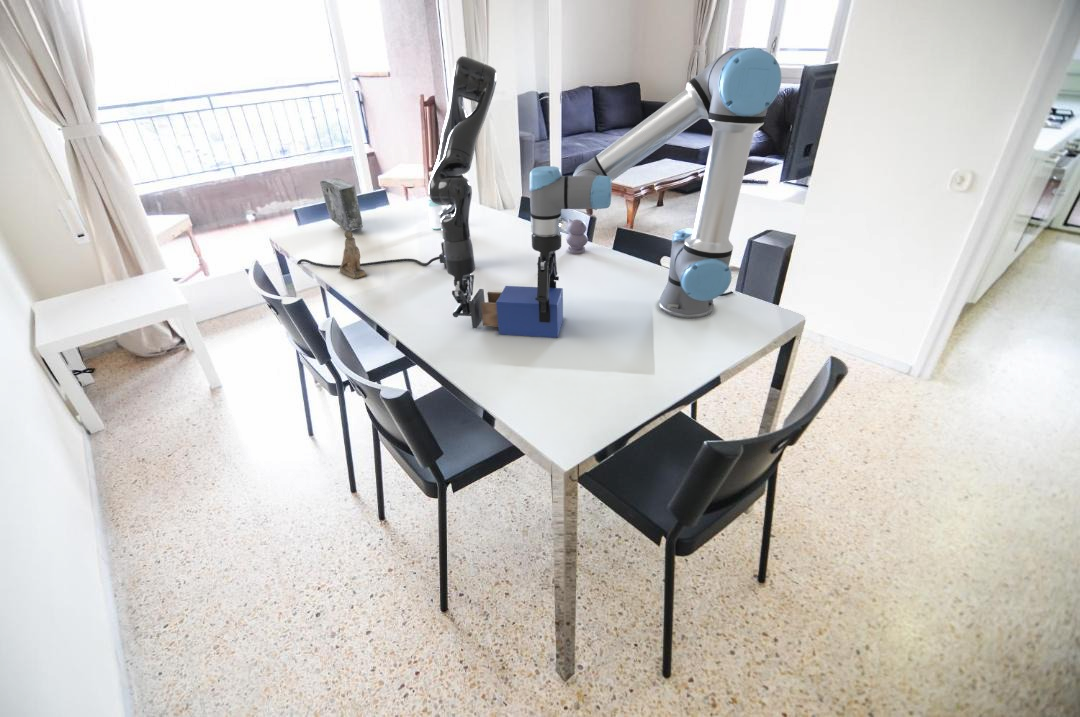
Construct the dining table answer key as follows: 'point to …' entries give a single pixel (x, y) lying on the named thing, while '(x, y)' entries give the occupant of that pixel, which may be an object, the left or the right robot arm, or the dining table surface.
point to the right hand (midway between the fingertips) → (548, 312)
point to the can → (434, 214)
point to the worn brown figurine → (351, 258)
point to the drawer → (481, 309)
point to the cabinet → (528, 312)
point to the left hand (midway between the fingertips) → (467, 313)
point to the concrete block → (342, 203)
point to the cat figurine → (576, 236)
